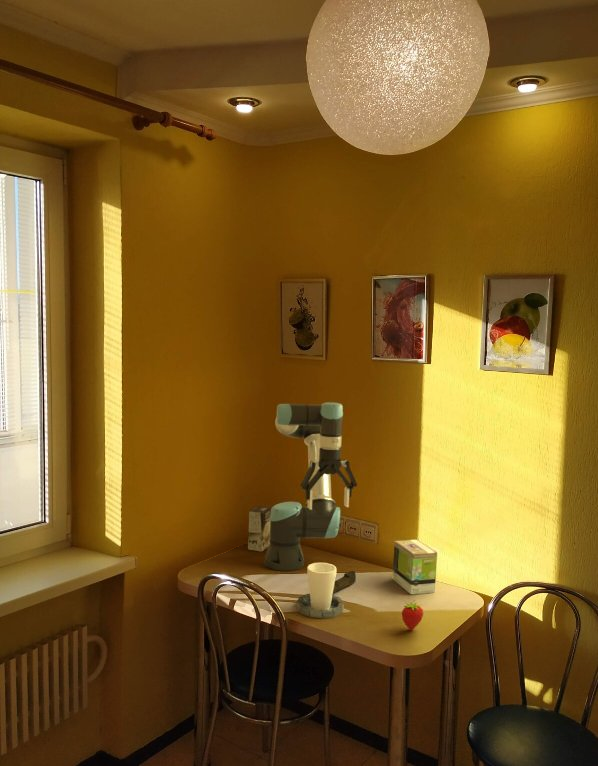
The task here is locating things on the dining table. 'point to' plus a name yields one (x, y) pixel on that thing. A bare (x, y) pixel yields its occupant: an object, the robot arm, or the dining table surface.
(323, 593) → the foam cup
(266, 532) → the coffee box
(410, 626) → the strawberry
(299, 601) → the grey shallow round dish
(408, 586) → the tea box
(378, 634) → the dining table surface
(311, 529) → the robot arm
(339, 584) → the hand tool
